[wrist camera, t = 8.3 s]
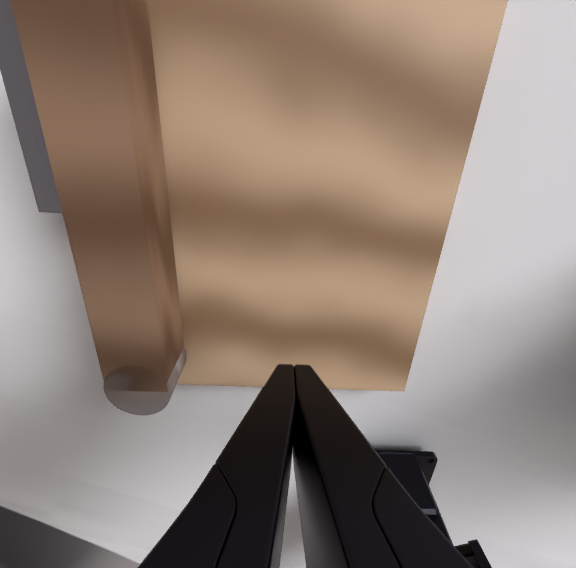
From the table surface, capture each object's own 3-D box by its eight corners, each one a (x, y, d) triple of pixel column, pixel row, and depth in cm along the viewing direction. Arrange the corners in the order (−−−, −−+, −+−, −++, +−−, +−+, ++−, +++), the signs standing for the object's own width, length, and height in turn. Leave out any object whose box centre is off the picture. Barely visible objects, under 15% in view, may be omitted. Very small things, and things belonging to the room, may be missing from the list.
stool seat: (394, 370, 22) (419, 423, 18) (129, 361, 21) (94, 414, 17) (482, 1, 14) (567, -57, 10) (55, -30, 13) (-48, -106, 9)
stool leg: (188, 376, 19) (173, 416, 16) (135, 374, 19) (110, 414, 16) (150, 2, 12) (110, -38, 9) (62, -4, 12) (-5, -45, 9)
